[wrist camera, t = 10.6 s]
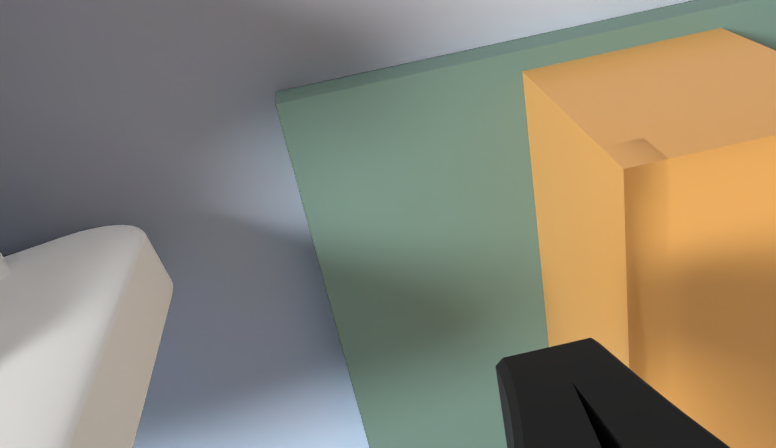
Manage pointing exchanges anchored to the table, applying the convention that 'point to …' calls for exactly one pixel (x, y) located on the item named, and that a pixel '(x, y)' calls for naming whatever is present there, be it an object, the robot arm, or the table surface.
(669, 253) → the block
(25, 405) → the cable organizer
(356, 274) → the board
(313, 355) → the table surface
